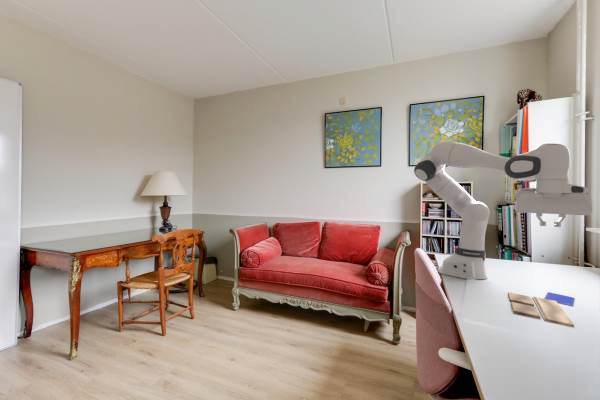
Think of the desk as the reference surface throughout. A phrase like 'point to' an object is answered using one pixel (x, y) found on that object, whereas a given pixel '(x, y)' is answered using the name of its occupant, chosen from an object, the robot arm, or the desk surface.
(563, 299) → the hard drive
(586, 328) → the desk surface
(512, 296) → the plank
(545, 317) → the laid board
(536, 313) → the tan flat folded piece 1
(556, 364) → the desk surface
